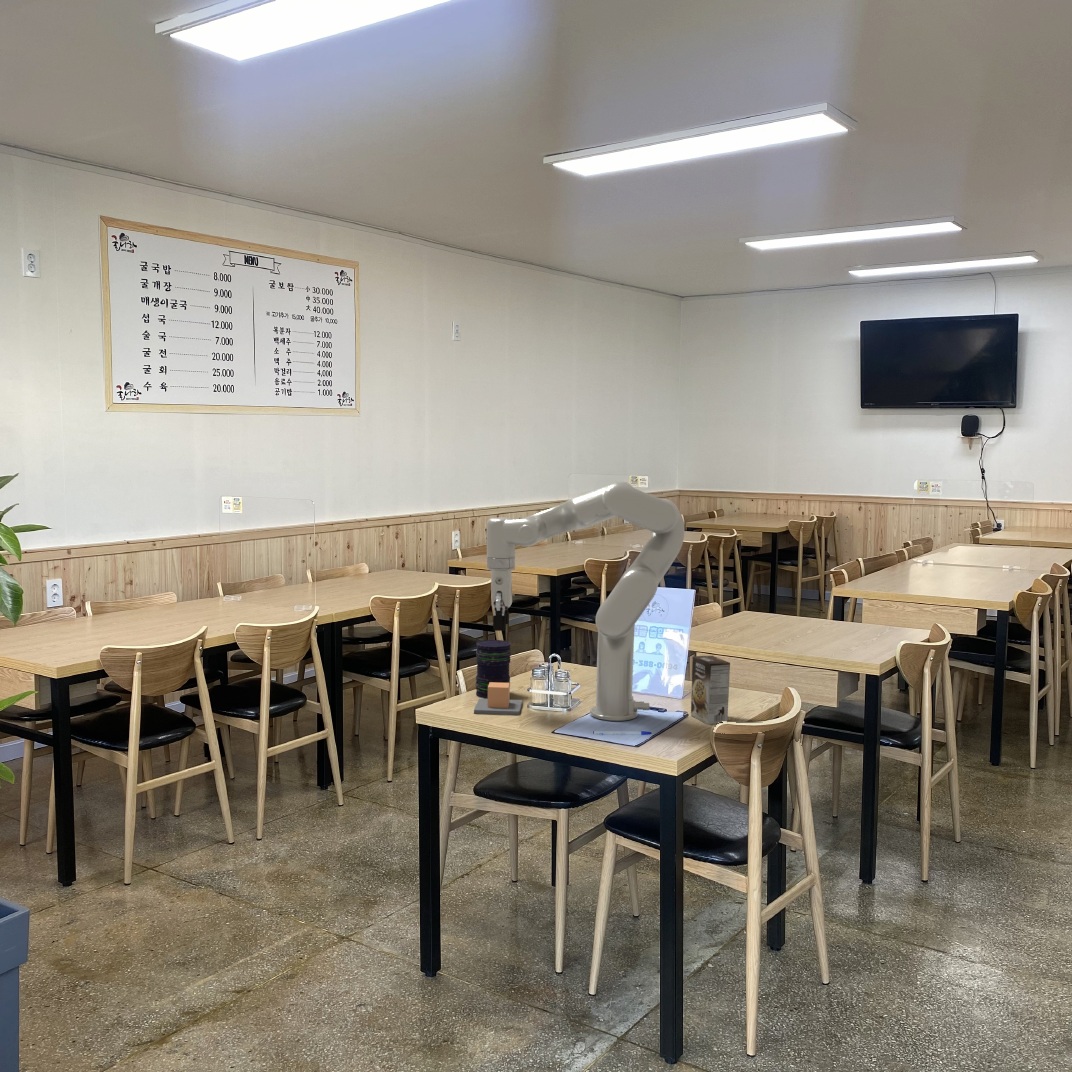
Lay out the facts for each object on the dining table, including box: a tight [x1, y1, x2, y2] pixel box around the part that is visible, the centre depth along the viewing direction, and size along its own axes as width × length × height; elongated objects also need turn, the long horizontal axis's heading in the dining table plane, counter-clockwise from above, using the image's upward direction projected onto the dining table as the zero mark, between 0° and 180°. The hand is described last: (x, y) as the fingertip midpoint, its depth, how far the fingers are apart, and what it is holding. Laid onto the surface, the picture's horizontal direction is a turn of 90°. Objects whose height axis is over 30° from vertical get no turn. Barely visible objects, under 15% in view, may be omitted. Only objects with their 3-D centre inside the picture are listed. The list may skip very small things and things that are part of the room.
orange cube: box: [488, 682, 511, 708], centre depth 268 cm, size 6×6×6 cm
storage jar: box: [475, 639, 512, 699], centre depth 283 cm, size 10×10×15 cm
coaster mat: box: [473, 698, 523, 716], centre depth 268 cm, size 12×12×1 cm
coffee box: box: [690, 655, 731, 725], centre depth 261 cm, size 9×6×16 cm
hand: (500, 627), depth 266 cm, fingers open, 9 cm apart
